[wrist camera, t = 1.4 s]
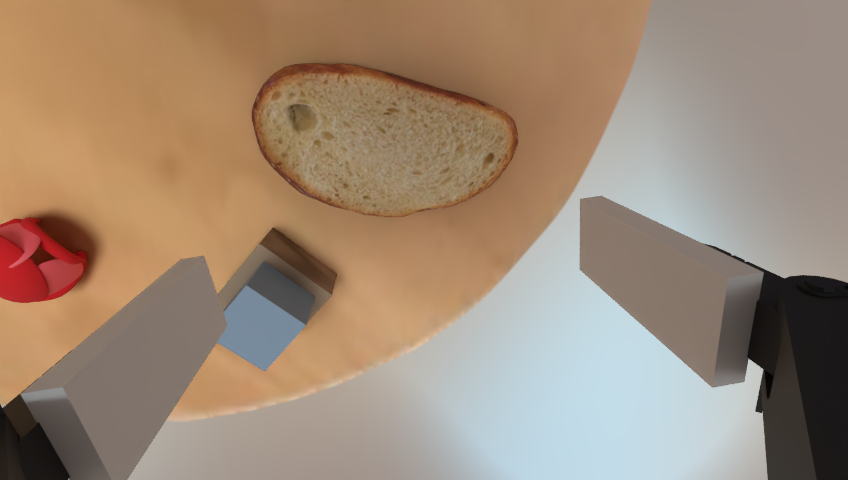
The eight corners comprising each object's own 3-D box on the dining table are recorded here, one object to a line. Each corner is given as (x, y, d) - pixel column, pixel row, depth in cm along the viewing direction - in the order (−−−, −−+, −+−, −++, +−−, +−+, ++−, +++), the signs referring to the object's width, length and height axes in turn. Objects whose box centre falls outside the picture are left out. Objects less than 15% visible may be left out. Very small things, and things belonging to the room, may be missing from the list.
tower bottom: (227, 282, 38) (208, 305, 33) (273, 226, 36) (259, 243, 32) (291, 324, 40) (280, 352, 35) (337, 273, 38) (331, 294, 34)
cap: (2, 191, 30) (-88, 248, 28) (60, 246, 30) (-27, 307, 28) (66, 229, 38) (-2, 275, 35) (112, 273, 37) (47, 323, 35)
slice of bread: (532, 148, 36) (548, 153, 33) (377, 272, 39) (377, 289, 35) (401, -40, 31) (403, -58, 27) (230, 118, 33) (212, 121, 30)
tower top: (227, 305, 34) (204, 335, 29) (263, 261, 33) (246, 285, 28) (278, 338, 35) (264, 371, 31) (315, 297, 34) (306, 325, 30)
